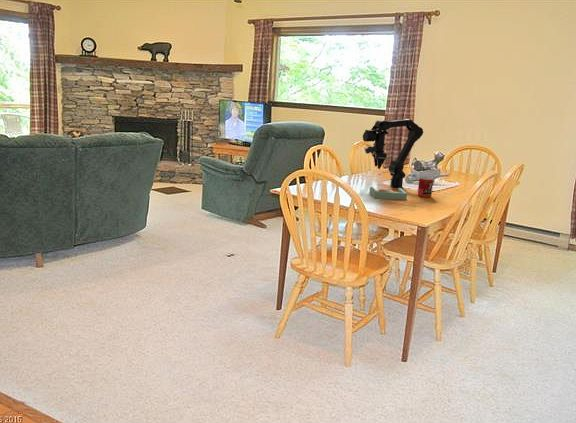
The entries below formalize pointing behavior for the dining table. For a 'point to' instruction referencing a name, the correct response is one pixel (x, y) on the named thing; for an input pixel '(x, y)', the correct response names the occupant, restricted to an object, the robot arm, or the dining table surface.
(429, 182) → the canned food
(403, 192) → the box
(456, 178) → the dining table surface
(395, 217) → the dining table surface
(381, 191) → the tan wooden block
